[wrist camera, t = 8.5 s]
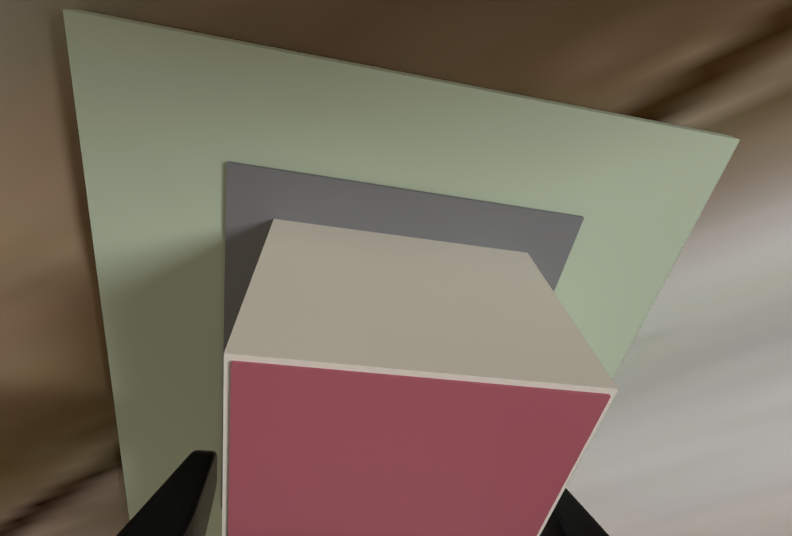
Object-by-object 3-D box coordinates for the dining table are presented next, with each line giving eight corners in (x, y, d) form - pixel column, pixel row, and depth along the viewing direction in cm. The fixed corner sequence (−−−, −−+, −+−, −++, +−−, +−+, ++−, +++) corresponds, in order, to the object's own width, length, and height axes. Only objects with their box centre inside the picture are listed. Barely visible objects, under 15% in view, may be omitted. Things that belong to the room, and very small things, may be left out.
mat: (726, 134, 10) (743, 141, 9) (514, 545, 16) (518, 560, 16) (75, 9, 8) (59, 9, 7) (137, 530, 14) (130, 546, 14)
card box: (441, 495, 14) (470, 666, 10) (257, 486, 13) (220, 667, 9) (527, 252, 10) (620, 391, 6) (273, 218, 9) (222, 356, 6)
